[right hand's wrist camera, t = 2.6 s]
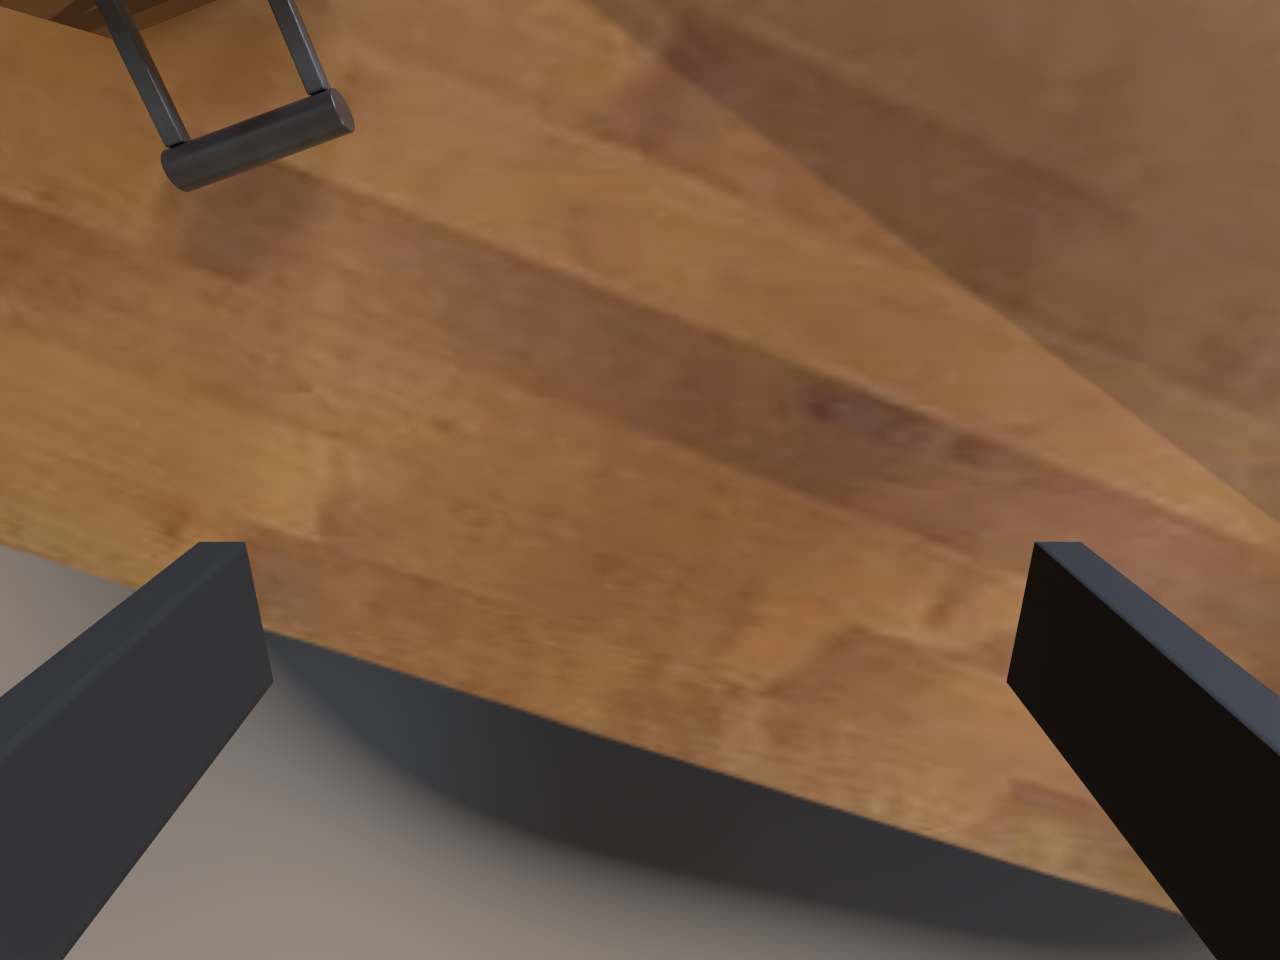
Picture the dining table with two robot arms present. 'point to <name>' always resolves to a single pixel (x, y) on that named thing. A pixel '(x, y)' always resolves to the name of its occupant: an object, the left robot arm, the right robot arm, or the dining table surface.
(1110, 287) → the dining table surface
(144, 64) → the drawer
